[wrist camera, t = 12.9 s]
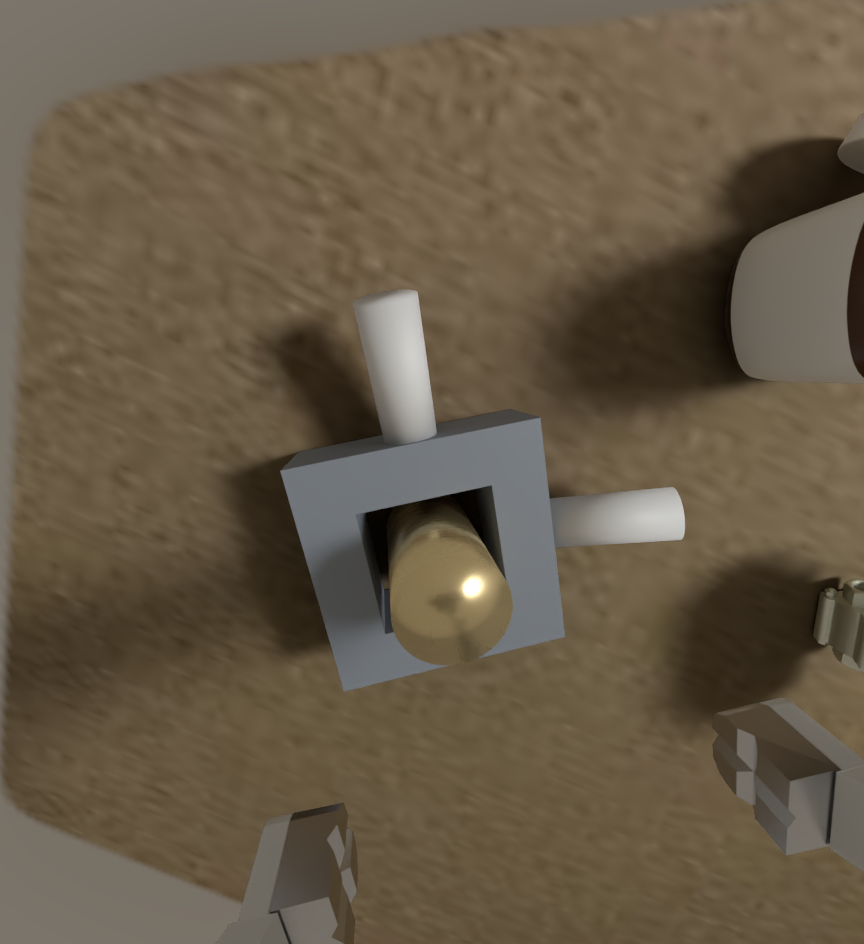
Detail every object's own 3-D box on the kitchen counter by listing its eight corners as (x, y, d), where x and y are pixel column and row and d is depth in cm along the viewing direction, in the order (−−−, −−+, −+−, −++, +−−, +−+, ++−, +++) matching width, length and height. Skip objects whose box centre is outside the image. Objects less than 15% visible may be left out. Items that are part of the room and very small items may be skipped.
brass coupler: (472, 556, 23) (520, 649, 15) (395, 573, 23) (404, 677, 15) (460, 482, 22) (504, 542, 14) (378, 499, 22) (379, 571, 14)
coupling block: (631, 571, 25) (703, 628, 19) (349, 638, 23) (340, 720, 18) (613, 263, 20) (699, 224, 15) (264, 325, 19) (218, 307, 13)
